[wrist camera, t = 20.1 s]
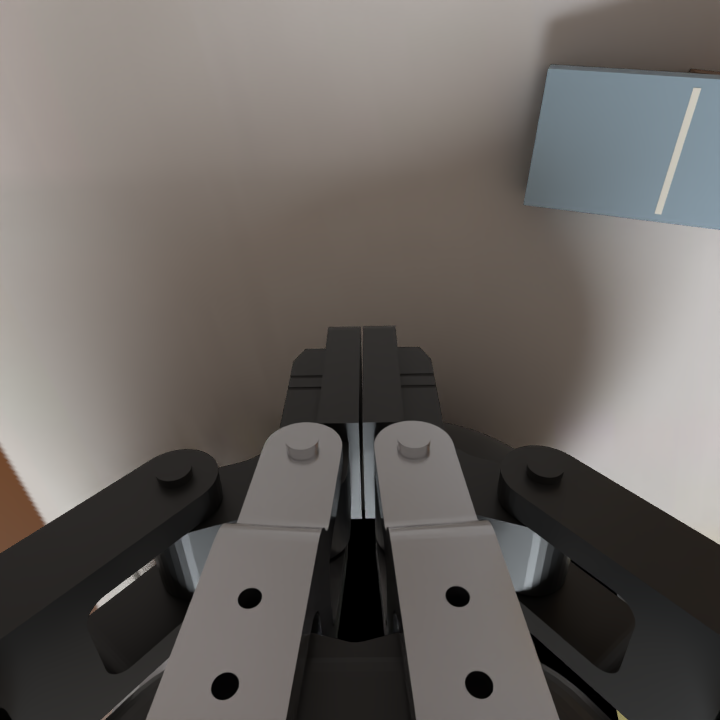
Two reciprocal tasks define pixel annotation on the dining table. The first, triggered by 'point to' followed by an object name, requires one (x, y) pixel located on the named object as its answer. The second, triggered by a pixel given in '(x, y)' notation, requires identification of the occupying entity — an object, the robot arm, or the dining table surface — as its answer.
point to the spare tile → (629, 145)
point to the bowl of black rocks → (362, 581)
